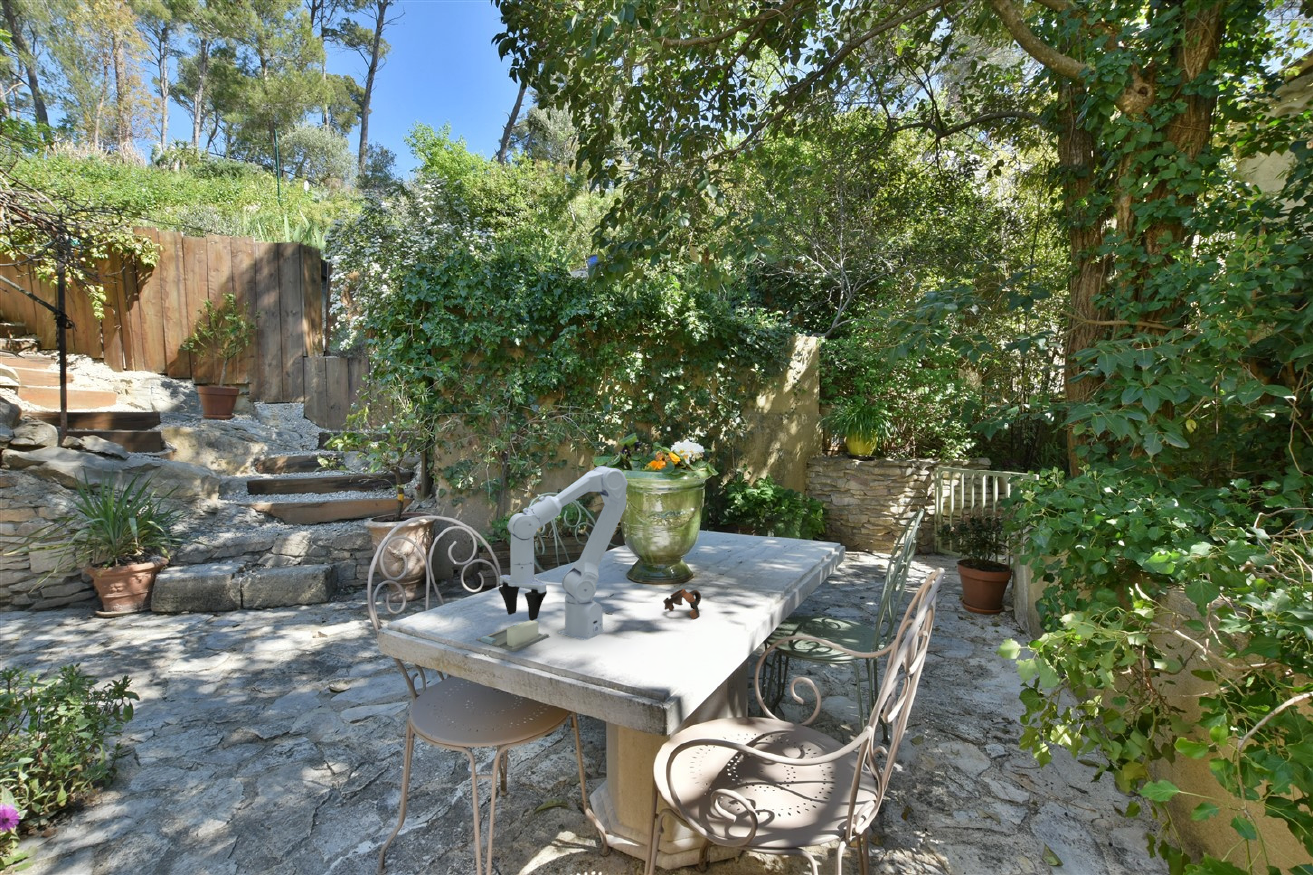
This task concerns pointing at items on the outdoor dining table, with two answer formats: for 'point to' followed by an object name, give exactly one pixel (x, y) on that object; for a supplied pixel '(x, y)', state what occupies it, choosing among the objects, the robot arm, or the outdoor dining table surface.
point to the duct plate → (501, 640)
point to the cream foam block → (522, 633)
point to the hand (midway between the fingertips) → (522, 616)
